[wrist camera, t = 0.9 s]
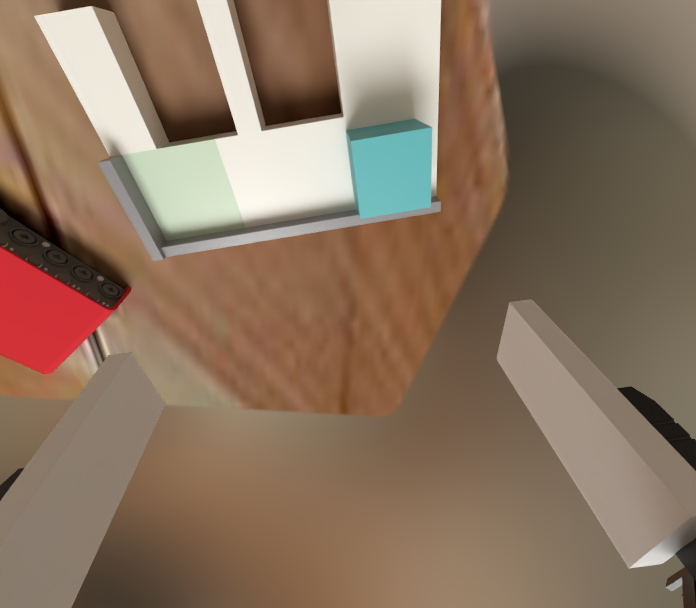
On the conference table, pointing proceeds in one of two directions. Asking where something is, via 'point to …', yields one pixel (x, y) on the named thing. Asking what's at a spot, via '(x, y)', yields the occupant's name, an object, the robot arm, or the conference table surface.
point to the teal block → (391, 167)
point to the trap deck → (250, 126)
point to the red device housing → (47, 299)
